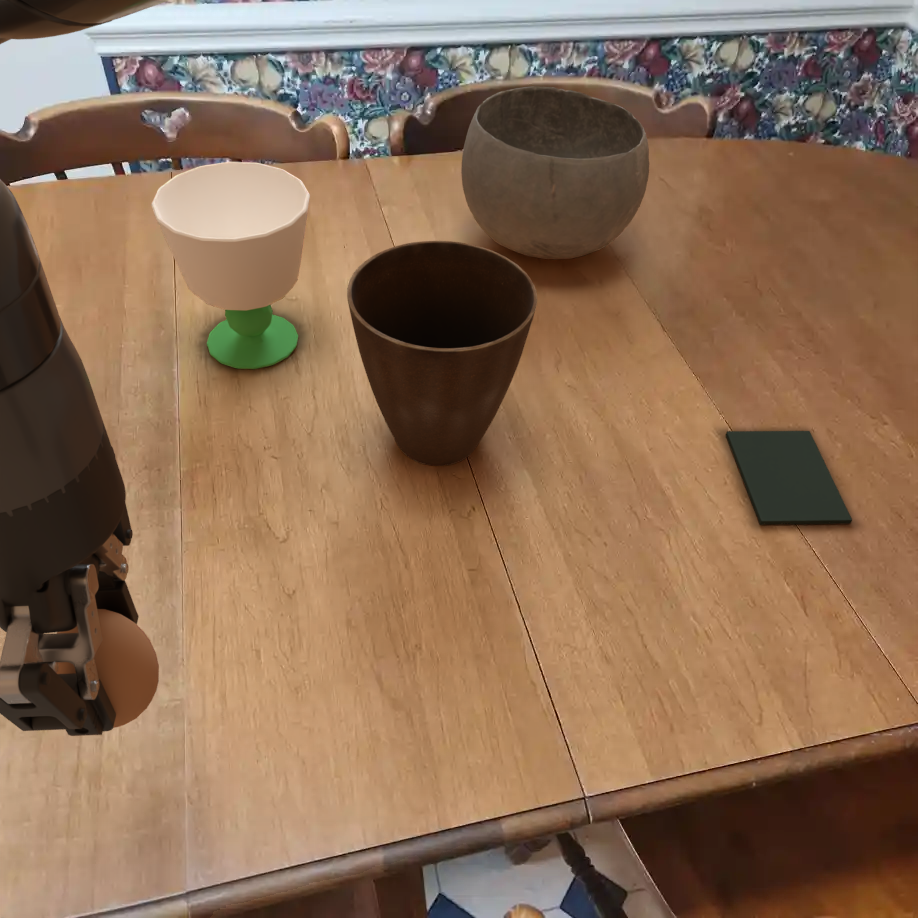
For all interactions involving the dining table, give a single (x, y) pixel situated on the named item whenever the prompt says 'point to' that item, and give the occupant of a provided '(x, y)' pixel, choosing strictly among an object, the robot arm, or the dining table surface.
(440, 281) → the flower pot
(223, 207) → the cup
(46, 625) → the robot arm
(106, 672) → the egg
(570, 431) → the dining table surface
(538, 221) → the bowl
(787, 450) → the mat
